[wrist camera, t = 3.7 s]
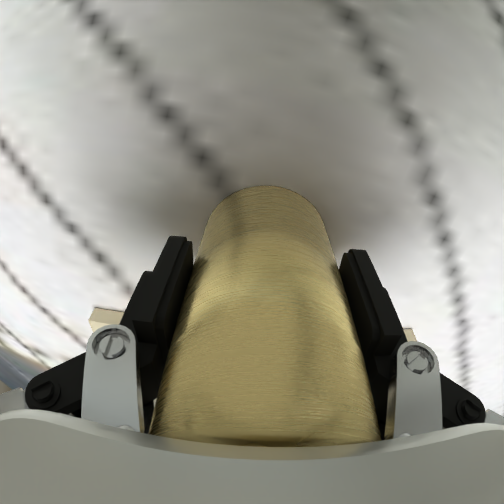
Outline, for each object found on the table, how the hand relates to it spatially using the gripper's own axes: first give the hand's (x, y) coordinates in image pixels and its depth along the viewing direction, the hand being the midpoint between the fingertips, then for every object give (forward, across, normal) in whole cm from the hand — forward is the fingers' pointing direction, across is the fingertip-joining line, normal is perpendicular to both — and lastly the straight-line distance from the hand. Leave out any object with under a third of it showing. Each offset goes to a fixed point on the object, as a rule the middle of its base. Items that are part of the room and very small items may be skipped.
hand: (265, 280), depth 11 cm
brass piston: (+2, 0, 0) cm, 2 cm away
